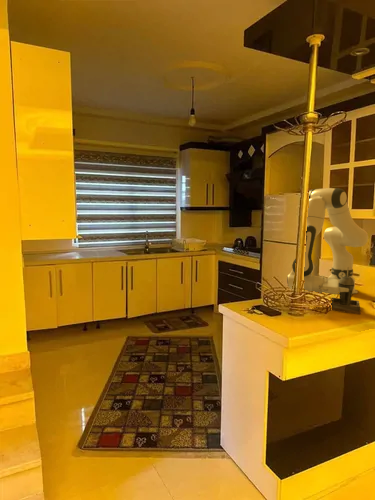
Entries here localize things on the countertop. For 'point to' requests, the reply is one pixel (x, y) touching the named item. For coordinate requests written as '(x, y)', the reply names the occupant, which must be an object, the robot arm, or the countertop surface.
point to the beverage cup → (346, 283)
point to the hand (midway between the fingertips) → (348, 287)
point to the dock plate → (346, 306)
